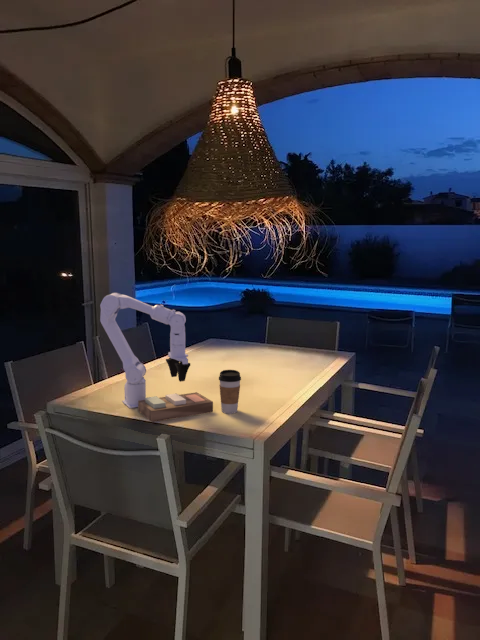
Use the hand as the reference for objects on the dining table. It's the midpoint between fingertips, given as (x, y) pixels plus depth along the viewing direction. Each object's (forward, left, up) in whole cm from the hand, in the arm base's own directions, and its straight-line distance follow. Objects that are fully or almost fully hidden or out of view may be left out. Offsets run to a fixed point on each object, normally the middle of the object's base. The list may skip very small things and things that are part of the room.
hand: (177, 378), depth 206 cm
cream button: (+7, -4, -9) cm, 12 cm away
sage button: (+7, -12, -9) cm, 16 cm away
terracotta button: (+7, +4, -10) cm, 13 cm away
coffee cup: (+16, +14, -11) cm, 24 cm away
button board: (+7, -4, -10) cm, 13 cm away
